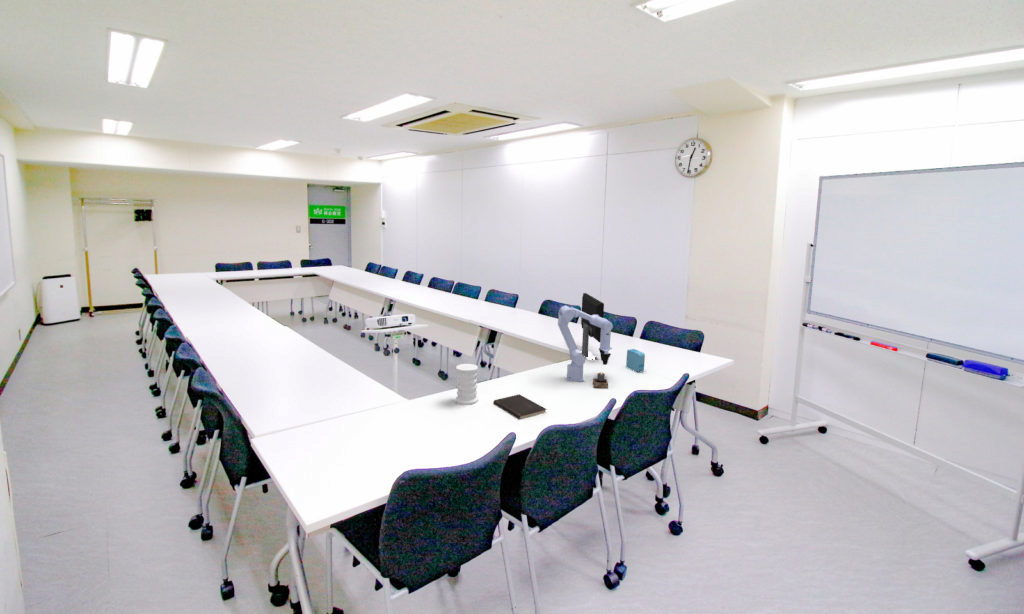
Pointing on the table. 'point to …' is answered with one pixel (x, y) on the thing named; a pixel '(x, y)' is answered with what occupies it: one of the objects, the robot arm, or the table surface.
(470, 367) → the decorative container
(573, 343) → the robot arm
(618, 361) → the table surface
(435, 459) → the table surface
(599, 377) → the battery cell
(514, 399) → the hardcover book
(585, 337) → the computer monitor
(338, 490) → the table surface
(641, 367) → the data package
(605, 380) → the brown square tray
